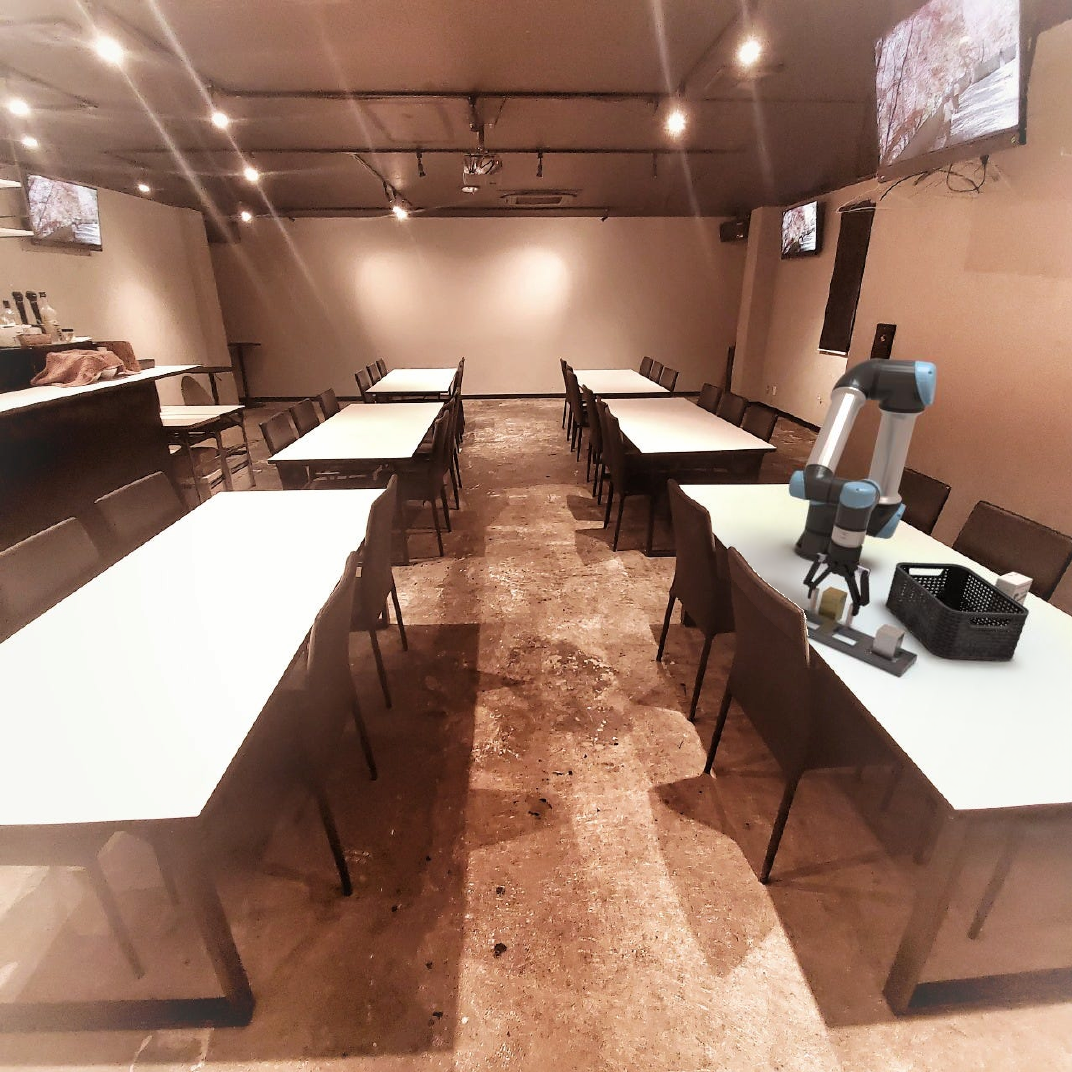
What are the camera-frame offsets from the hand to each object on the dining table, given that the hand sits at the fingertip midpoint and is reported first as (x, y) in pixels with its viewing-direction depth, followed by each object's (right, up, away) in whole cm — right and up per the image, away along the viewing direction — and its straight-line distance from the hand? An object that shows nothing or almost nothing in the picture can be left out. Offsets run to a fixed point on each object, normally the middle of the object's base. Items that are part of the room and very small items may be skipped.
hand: (829, 617), depth 161 cm
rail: (-2, -5, -11) cm, 12 cm away
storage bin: (+28, -3, -5) cm, 28 cm away
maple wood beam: (0, 0, 0) cm, 0 cm away
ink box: (+48, 0, +2) cm, 48 cm away
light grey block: (+4, -8, -18) cm, 20 cm away
